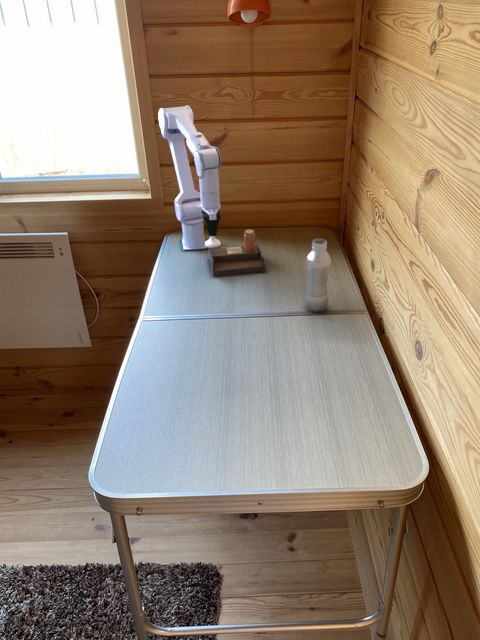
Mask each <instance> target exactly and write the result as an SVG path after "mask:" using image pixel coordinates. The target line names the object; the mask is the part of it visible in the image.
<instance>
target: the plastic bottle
mask: <svg viewBox="0 0 480 640" xmlns="http://www.w3.org/2000/svg"><path fill="white" fill-rule="evenodd" d="M327 244H328V241H327V239H325V238H315V239H313V240H312V243H311V251H310V252H309V253H307V255H306V258H305V266H306V290H305V292H304V293H305V294H304V298H303V302H304V306H305V308H306V309H307V310H308V311H310V312H316V313H317V312H318V313H319V312H323V311H325V310H326V309H327V307H328V305H329V294H328V279H329V272H330V268H331V264H332V263H331V262H332V259H331V256H330V254H329V252H328V251H327V249H328V245H327Z"/></svg>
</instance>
